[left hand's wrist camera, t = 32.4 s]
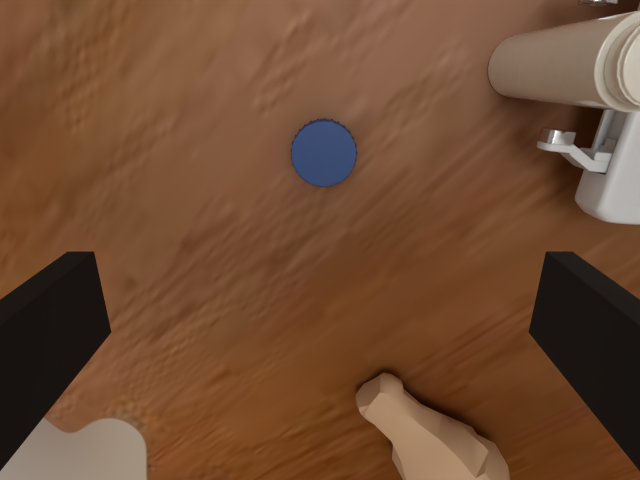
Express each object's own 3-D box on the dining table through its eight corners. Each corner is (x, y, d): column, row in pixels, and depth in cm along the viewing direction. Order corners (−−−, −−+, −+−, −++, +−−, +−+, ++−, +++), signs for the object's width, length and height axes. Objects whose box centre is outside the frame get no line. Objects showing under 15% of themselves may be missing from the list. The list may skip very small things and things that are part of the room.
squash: (446, 490, 53) (451, 568, 45) (335, 384, 50) (319, 447, 42) (524, 457, 48) (544, 538, 40) (406, 339, 45) (403, 400, 37)
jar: (485, 41, 34) (616, 16, 19) (546, 27, 34) (730, -10, 19) (489, 103, 36) (612, 125, 21) (548, 90, 35) (716, 103, 20)
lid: (278, 153, 37) (276, 157, 36) (321, 103, 36) (321, 105, 34) (325, 195, 39) (326, 200, 37) (368, 148, 37) (371, 152, 36)
